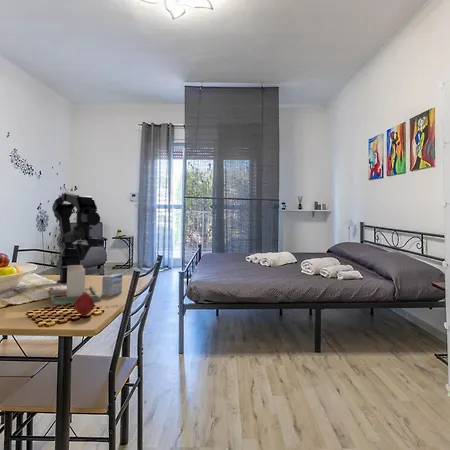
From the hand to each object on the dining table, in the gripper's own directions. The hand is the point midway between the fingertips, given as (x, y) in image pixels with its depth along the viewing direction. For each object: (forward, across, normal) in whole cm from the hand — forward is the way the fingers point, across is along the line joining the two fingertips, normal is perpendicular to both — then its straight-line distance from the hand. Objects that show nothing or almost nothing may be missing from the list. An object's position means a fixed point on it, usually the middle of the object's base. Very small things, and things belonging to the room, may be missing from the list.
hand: (81, 260), depth 152 cm
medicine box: (+12, +22, -6) cm, 26 cm away
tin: (+10, +16, -19) cm, 27 cm away
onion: (+12, +32, -31) cm, 46 cm away
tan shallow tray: (+12, +13, -16) cm, 24 cm away
